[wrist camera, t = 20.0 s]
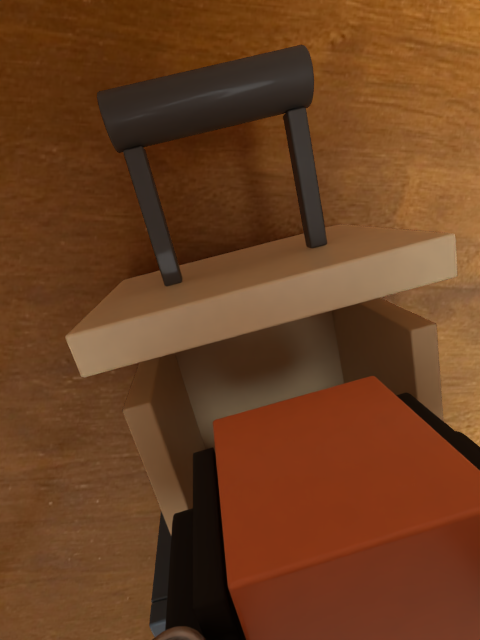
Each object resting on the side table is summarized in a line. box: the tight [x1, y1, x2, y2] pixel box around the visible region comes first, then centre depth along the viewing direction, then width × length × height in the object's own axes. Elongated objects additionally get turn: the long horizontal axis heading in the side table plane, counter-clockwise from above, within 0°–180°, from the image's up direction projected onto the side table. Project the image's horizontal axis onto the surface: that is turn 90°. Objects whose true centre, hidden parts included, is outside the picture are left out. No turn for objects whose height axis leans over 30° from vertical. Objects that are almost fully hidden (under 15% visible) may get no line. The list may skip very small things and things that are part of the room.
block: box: [213, 376, 480, 640], centre depth 8 cm, size 4×4×4 cm
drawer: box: [66, 45, 457, 535], centre depth 14 cm, size 18×10×8 cm, turn 13°
